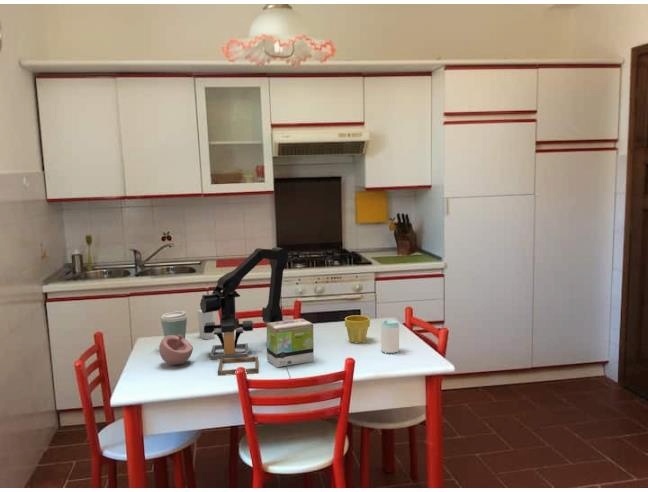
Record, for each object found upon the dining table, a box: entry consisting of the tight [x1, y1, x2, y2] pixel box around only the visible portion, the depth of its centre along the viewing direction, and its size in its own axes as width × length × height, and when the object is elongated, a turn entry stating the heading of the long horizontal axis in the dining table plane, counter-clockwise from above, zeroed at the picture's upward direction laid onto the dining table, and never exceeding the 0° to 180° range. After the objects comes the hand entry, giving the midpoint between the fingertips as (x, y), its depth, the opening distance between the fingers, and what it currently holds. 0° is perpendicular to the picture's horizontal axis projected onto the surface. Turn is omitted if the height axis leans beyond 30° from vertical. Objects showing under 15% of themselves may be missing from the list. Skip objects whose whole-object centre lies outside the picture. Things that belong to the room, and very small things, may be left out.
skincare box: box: [197, 309, 215, 340], centre depth 249 cm, size 6×4×12 cm
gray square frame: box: [209, 343, 249, 361], centre depth 227 cm, size 14×14×2 cm
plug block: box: [223, 331, 236, 354], centre depth 227 cm, size 4×4×8 cm
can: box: [380, 319, 400, 354], centre depth 224 cm, size 7×7×12 cm
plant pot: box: [344, 314, 371, 343], centre depth 239 cm, size 10×10×10 cm
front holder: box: [217, 356, 259, 376], centre depth 210 cm, size 14×14×2 cm
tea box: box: [266, 318, 314, 368], centre depth 215 cm, size 15×10×15 cm
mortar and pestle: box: [158, 334, 194, 366], centre depth 214 cm, size 12×12×12 cm
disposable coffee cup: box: [160, 310, 188, 339], centre depth 233 cm, size 11×11×15 cm
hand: (229, 348), depth 227 cm, fingers closed on plug block, 4 cm apart
